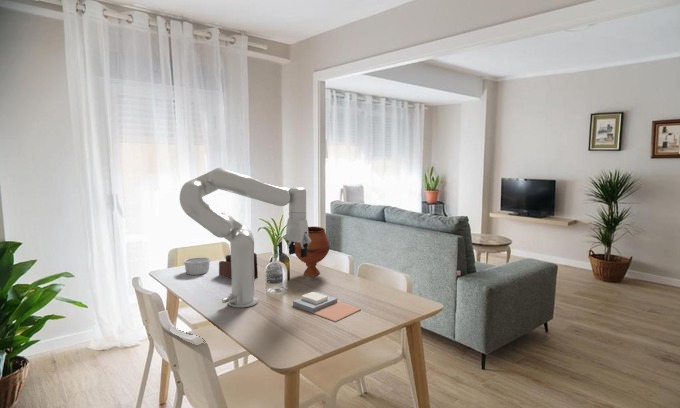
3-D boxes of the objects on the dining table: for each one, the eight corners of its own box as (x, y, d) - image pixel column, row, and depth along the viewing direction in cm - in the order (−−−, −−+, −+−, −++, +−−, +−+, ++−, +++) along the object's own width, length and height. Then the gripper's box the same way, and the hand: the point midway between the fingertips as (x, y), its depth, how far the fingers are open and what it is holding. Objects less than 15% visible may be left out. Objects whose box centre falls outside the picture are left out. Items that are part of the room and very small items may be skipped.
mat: (335, 322, 148) (335, 321, 148) (313, 313, 156) (313, 312, 156) (360, 309, 160) (360, 309, 160) (338, 302, 168) (338, 301, 168)
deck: (313, 313, 157) (313, 308, 157) (293, 305, 165) (293, 301, 164) (337, 302, 168) (337, 298, 168) (317, 296, 176) (317, 292, 176)
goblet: (292, 279, 201) (292, 231, 198) (295, 268, 220) (295, 225, 217) (329, 279, 201) (329, 232, 198) (329, 268, 220) (329, 225, 217)
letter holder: (234, 271, 214) (233, 246, 212) (258, 278, 202) (257, 251, 201) (218, 275, 206) (218, 249, 204) (242, 283, 194) (242, 255, 193)
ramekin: (192, 268, 219) (192, 256, 218) (214, 269, 217) (214, 257, 216) (179, 275, 206) (179, 262, 205) (203, 276, 204) (202, 263, 203)
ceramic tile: (316, 304, 161) (316, 300, 161) (301, 299, 167) (301, 295, 167) (327, 299, 166) (327, 296, 166) (312, 294, 172) (312, 291, 172)
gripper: (278, 214, 172) (278, 253, 174) (305, 218, 161) (305, 260, 163) (290, 213, 178) (290, 250, 180) (317, 217, 166) (317, 257, 168)
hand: (297, 255), depth 171 cm, fingers open, 6 cm apart
